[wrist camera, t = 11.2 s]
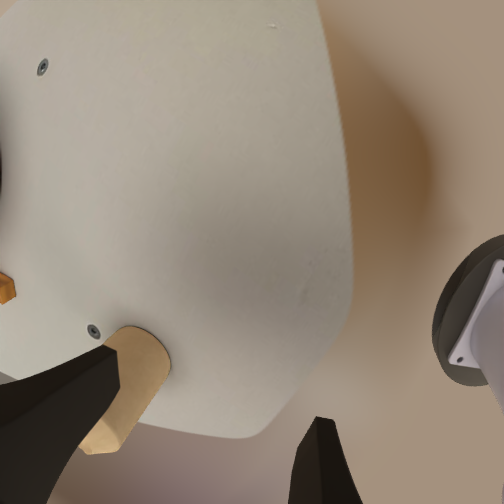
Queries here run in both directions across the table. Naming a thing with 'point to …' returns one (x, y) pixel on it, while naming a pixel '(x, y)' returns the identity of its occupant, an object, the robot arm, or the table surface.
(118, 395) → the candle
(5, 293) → the fry stick
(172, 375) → the table surface
